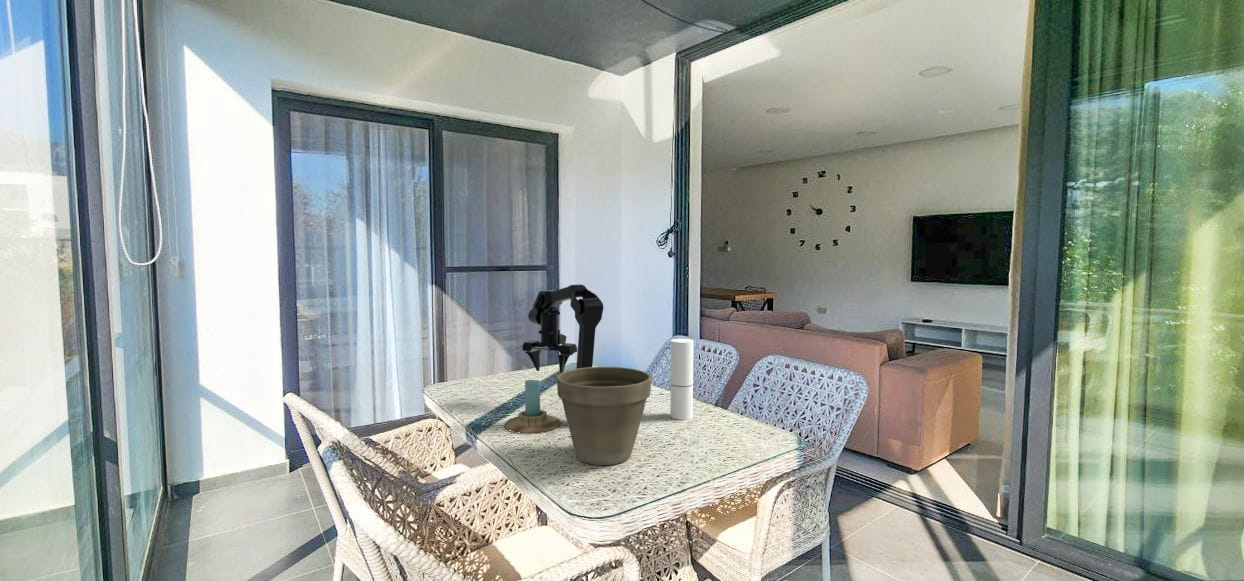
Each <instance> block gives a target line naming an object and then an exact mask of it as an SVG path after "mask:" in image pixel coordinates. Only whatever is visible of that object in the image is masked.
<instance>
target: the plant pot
mask: <svg viewBox="0 0 1244 581" xmlns="http://www.w3.org/2000/svg"><path fill="white" fill-rule="evenodd" d="M556 390H557V396H558V397H559V398H560V399H561V403H562V406H563V407H562V408H563V411H564V414H565V419H566V422H567V426H568V429H569V434H570V437H571V441H572V445H573V448H574V453H575V456H576V458H577V459H578V460H579V461H581V462H583V463H586V464H589V465H593V466H594V465H595V466H597V465H598V466H609V465H610V466H611V465H612V466H613V465H618V464H622V463H624V462H627V461H628V460H629V459H630V458H631V456H632V454H633V450H634V447H635V443H636V440H637V436H638V433H639V429H640V426H641V421H642V418H643V414H644V410H645V407H646V402H647V399H648V398H650V395H651V391H652V375H651V374H649V373H648V372H645V371H643V370H639V369H635V368H629V367H622V366H621V367H620V366H592V367H587V368H579V369H576V368H574V369H569V370H566V371H563V373H561V374H560V373H559V374H558V375H557V376H556Z"/></svg>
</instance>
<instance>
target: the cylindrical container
mask: <svg viewBox="0 0 1244 581" xmlns="http://www.w3.org/2000/svg"><path fill="white" fill-rule="evenodd" d="M670 343H671V344H670V416H669V417H670V418H671V417H672V419H673V418H674V419H673V420H676V419H678V421H688V419H689V420H691V419H693V411H694V408H693V407H694V406H693V404H694V340H693V339H690V338H673V339H671V340H670Z"/></svg>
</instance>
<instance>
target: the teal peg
mask: <svg viewBox="0 0 1244 581" xmlns="http://www.w3.org/2000/svg"><path fill="white" fill-rule="evenodd" d="M524 395H525V396H524V403H525V404H524V405H525V410H524V411H525V416H527V417H536V416H540V410H541V381H540V380H539V379H528V380H527V379H526V380H525V381H524Z"/></svg>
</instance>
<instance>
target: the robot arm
mask: <svg viewBox="0 0 1244 581" xmlns="http://www.w3.org/2000/svg"><path fill="white" fill-rule="evenodd" d="M577 298H579V299H577ZM565 301H570V302H569V303H570V304H569V306H570V308H571V309H572V310H573V311H574V318H575V320H576V322H577V324H578V326H579V329H578V340H577V341H578V342H577V343H578V344H577V345H576V343H568V342H567V336H566V335H564V334H563V333H561V330H560V329H559V328H558V324H559V323H558V321H559V320H558V315H561V312H560V311H559V310H558V309H557V308H558V307H559V306H561V305H562V304H563V302H565ZM603 314H604V303H603V301H602V300H601V298H599V296H598V294H596V293H594V292H592V291H591V290H589V289H588V288H587V287H586V286H585V284H583V283H582V284H581V283H580V284H570V285H568V286H565V287H562V288H560V289H551V290H550V289H549V290H540V291H538V294H537V295H536V298H535V300H534V303H533V304H532V308H531V309H530V310H529V313H528V315H527V317H528V320H529V322H530V323H532V324H535V325H539V326H540V329H539V330H538V335H539V334H540V341H539V340H532V339H530V340H527V341H524V342H523V343H522V345H521V347H522V348H521V350H522V351H525V352H524V353H525V354H527V355H528V357H529V358H530V360H531V363H532V364H533V366H534V368H535V370H536V372H540V369H541V362H540V361H541V360H540V359H541V358H540V354H541V351H542V350H545V351H546V350H548V351H558V353H560V354H558V355H557V357H558V368H559V374H561V373H563V372H565V371H564V370H565V369H566V368H565V367H566V365H567V362H568V360H569V358H570V356H573V355H574V354H575V353H577V354H576V368H575V369H579V368H587V367H594V366H593V364H594V351H595V339H596V338H595V337H596V328H597V327H598V325H599V324H600V323H601V320H602V318H603Z"/></svg>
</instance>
